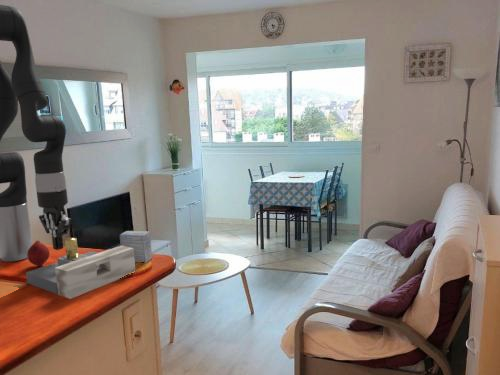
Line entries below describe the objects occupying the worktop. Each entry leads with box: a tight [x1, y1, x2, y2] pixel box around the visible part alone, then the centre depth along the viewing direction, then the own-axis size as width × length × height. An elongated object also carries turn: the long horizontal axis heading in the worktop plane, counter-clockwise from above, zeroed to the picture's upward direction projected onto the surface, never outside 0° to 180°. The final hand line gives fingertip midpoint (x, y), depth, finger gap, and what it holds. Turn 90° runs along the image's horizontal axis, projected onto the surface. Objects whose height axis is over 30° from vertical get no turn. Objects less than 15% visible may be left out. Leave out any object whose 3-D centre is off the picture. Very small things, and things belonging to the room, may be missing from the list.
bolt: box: [60, 237, 86, 261], centre depth 114 cm, size 11×3×7 cm, turn 55°
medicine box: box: [119, 230, 153, 264], centre depth 126 cm, size 8×4×9 cm, turn 78°
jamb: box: [55, 245, 136, 300], centre depth 110 cm, size 5×20×7 cm, turn 145°
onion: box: [27, 239, 51, 267], centre depth 124 cm, size 6×6×8 cm
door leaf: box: [25, 251, 99, 295], centre depth 115 cm, size 14×20×5 cm
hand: (58, 248), depth 119 cm, fingers closed
